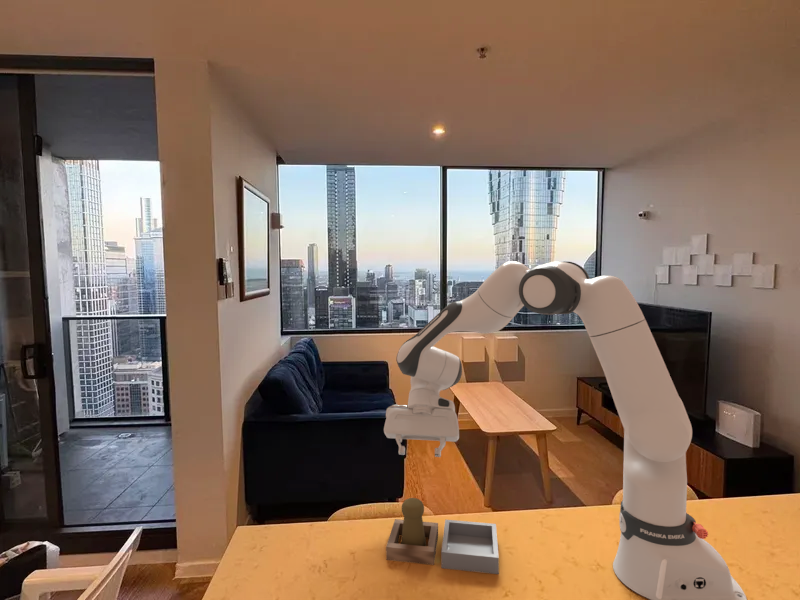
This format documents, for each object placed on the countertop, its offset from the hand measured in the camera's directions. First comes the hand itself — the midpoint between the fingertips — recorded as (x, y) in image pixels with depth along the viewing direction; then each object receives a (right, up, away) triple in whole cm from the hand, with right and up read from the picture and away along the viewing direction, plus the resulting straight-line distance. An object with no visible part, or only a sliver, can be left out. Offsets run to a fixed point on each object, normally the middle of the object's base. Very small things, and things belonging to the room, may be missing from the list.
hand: (419, 455), depth 108 cm
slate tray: (+11, -17, -13) cm, 24 cm away
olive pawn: (-2, -17, -11) cm, 21 cm away
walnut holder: (-2, -17, -11) cm, 21 cm away
